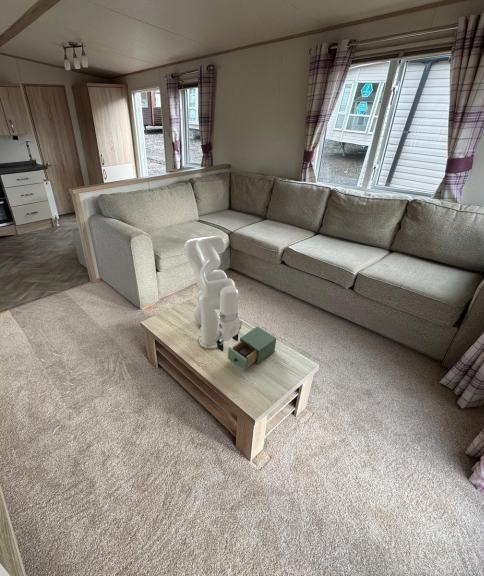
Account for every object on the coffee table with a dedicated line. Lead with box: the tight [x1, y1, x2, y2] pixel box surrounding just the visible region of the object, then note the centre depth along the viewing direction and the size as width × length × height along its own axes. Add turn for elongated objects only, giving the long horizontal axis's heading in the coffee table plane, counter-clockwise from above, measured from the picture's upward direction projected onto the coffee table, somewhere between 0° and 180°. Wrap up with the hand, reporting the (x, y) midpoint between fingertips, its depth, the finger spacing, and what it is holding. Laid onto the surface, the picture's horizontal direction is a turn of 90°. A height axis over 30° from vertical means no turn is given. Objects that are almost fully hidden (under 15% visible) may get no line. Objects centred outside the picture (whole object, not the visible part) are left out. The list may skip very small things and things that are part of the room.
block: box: [239, 348, 250, 358], centre depth 151 cm, size 4×4×4 cm
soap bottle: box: [192, 290, 219, 326], centre depth 173 cm, size 17×12×29 cm
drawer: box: [227, 341, 258, 372], centre depth 150 cm, size 14×11×7 cm
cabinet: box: [239, 326, 277, 365], centre depth 156 cm, size 14×13×9 cm
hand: (227, 344), depth 136 cm, fingers open, 9 cm apart
